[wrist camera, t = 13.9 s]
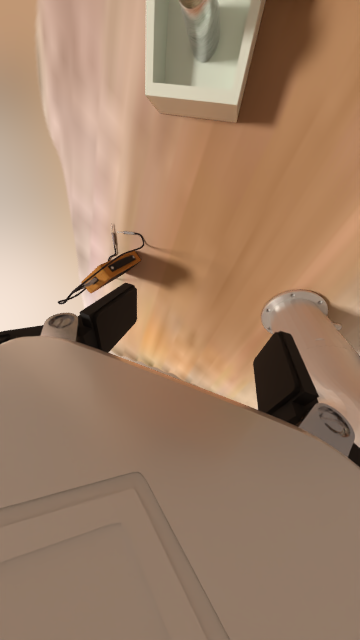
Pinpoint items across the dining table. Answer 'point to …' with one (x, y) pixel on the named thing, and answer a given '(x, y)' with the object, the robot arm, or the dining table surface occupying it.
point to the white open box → (195, 77)
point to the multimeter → (108, 270)
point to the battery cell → (202, 26)
